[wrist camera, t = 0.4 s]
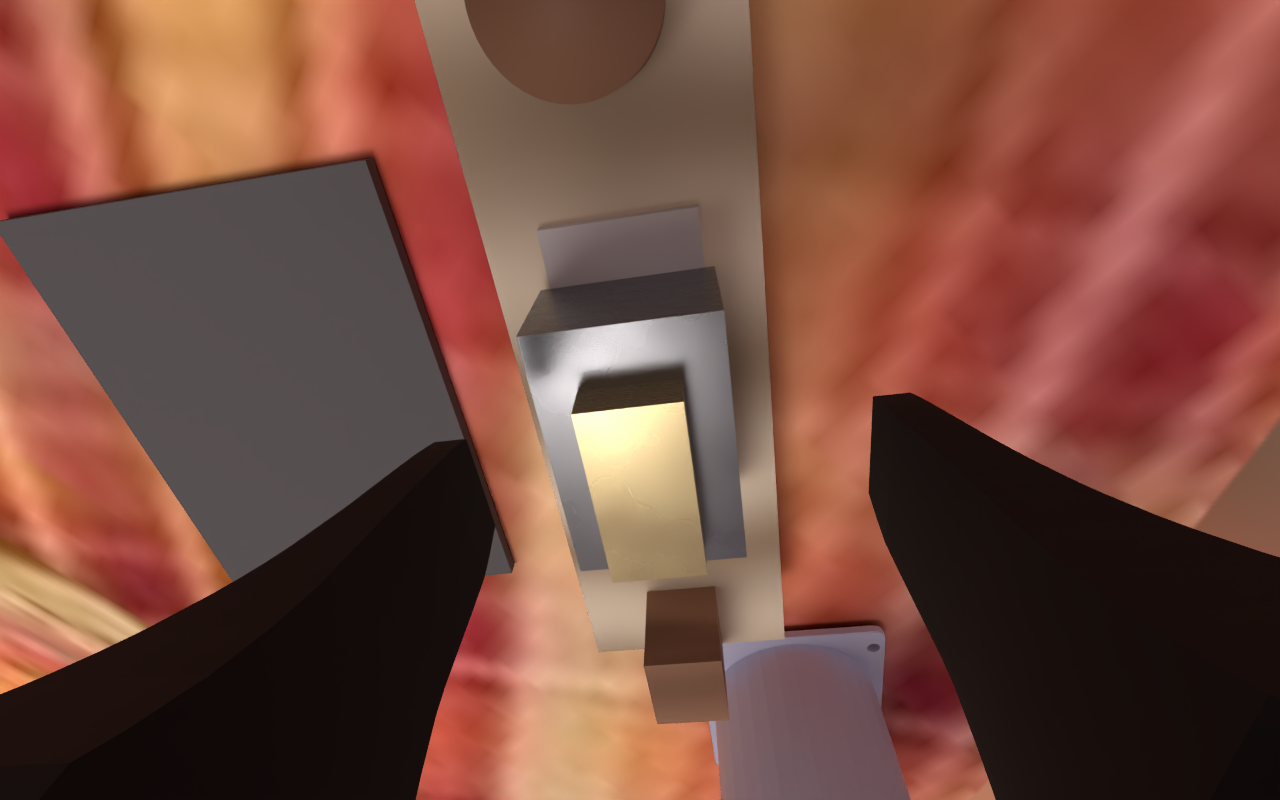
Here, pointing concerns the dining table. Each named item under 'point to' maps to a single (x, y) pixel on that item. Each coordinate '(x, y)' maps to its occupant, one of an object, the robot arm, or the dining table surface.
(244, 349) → the rubber mat
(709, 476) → the lever cap
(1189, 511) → the dining table surface
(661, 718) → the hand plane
